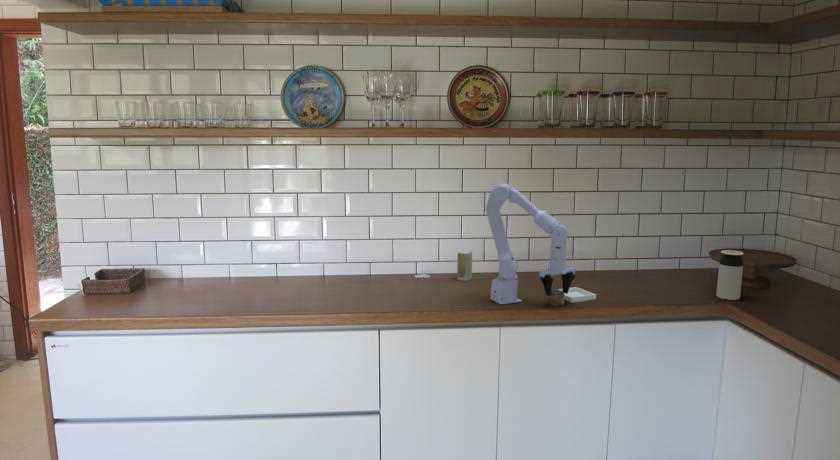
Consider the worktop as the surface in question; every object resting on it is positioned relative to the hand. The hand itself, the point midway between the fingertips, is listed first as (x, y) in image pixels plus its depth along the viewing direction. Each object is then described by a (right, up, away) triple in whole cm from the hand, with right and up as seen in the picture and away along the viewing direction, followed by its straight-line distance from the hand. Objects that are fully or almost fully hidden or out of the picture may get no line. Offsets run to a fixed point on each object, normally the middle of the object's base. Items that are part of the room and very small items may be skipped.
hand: (556, 294), depth 203 cm
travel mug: (+69, -3, +10) cm, 69 cm away
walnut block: (0, -4, +1) cm, 4 cm away
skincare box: (-31, +2, +37) cm, 48 cm away
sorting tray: (+9, -2, +10) cm, 14 cm away
